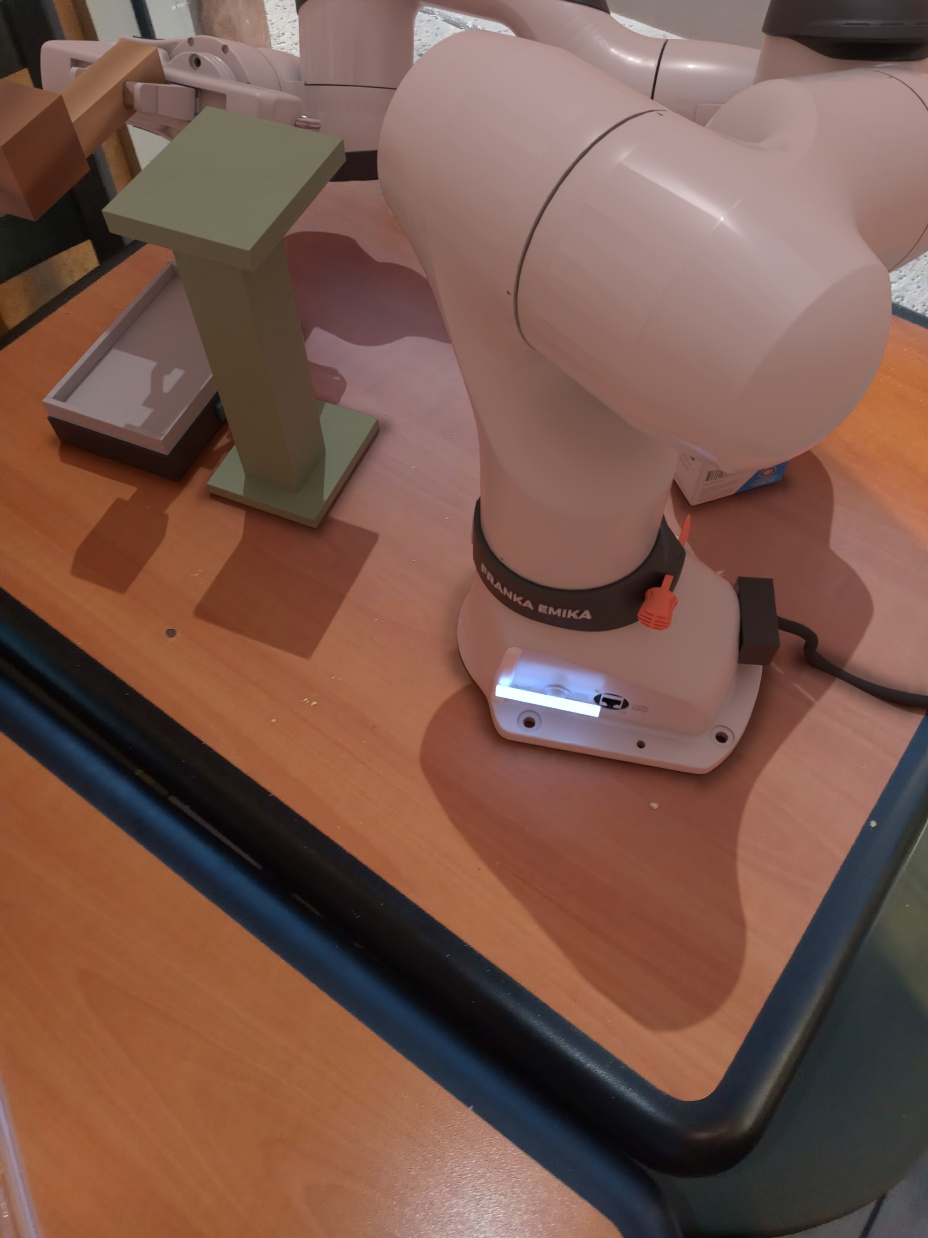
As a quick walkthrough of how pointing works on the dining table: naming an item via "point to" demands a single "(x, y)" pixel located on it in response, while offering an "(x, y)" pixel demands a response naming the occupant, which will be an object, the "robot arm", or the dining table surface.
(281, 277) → the stand
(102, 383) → the scale
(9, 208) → the mallet
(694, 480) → the ink box
